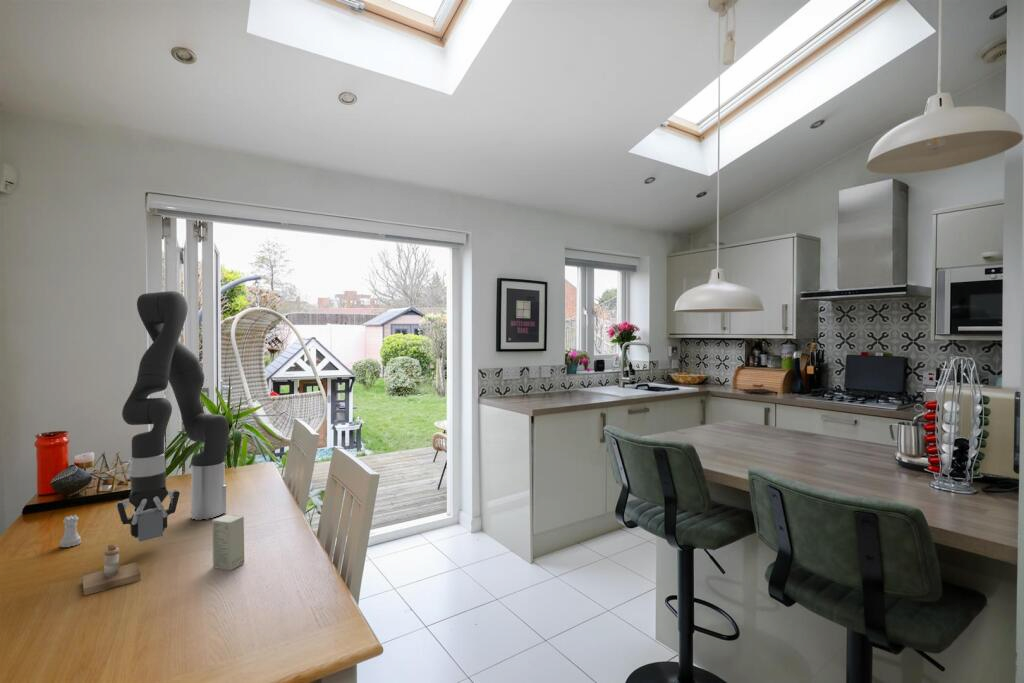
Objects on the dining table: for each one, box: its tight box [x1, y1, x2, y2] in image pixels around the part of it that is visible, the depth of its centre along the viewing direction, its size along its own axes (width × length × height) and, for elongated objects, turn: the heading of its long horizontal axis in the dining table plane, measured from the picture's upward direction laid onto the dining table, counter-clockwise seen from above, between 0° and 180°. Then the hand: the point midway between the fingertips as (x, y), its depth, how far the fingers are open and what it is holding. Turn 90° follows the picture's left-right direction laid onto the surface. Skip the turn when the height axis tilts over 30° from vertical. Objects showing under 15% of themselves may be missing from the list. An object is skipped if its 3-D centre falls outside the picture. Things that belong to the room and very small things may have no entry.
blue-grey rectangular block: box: [136, 508, 164, 543], centre depth 128 cm, size 5×5×7 cm
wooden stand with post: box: [81, 543, 142, 596], centre depth 112 cm, size 10×8×9 cm
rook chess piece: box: [59, 514, 82, 548], centre depth 132 cm, size 4×4×8 cm
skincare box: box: [211, 513, 245, 571], centre depth 120 cm, size 6×4×12 cm
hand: (149, 533), depth 128 cm, fingers closed on blue-grey rectangular block, 5 cm apart
